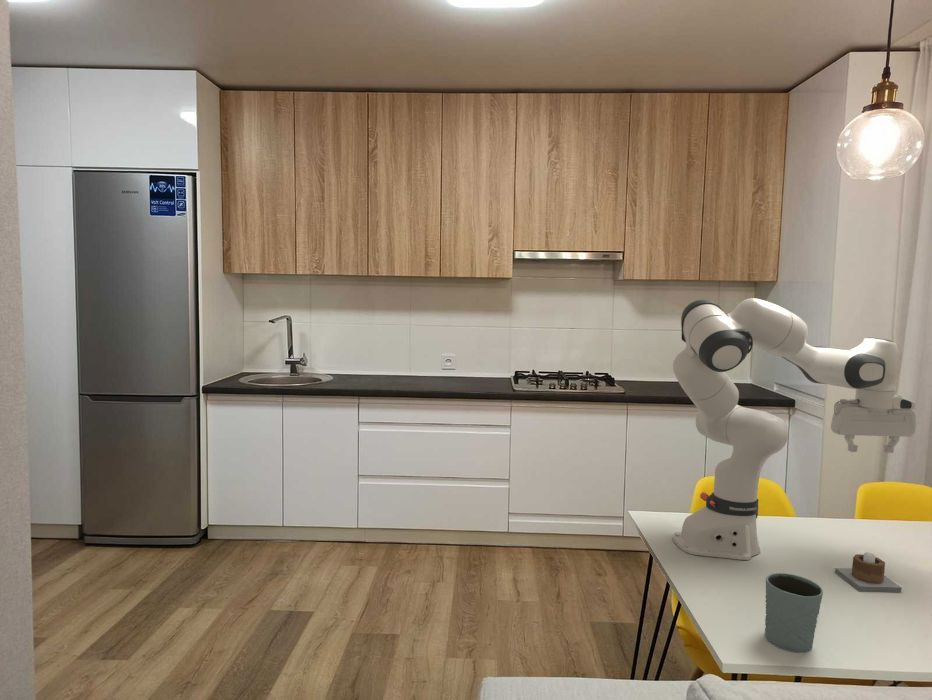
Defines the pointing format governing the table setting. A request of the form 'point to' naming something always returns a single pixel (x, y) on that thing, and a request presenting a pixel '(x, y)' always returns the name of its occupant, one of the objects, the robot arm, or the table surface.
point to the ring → (868, 569)
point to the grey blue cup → (791, 611)
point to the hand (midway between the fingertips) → (870, 452)
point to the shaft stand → (865, 586)
